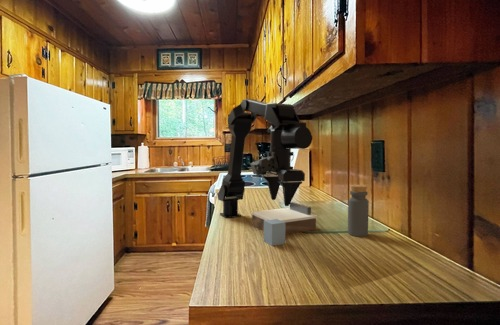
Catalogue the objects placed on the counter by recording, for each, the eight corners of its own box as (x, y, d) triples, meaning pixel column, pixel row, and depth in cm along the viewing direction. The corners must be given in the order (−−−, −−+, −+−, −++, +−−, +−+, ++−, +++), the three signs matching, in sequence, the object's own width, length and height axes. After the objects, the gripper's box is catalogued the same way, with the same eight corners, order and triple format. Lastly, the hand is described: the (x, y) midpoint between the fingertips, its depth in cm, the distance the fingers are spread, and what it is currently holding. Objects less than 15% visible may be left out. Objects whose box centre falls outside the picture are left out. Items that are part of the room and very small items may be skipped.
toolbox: (252, 225, 102) (252, 214, 102) (290, 219, 109) (290, 210, 109) (274, 236, 90) (274, 224, 89) (315, 229, 97) (316, 218, 97)
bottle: (364, 231, 94) (365, 184, 94) (370, 237, 89) (371, 187, 88) (345, 231, 95) (346, 184, 94) (350, 236, 89) (351, 186, 88)
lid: (251, 214, 102) (251, 204, 102) (290, 209, 109) (291, 200, 109) (273, 224, 89) (273, 213, 89) (316, 218, 97) (317, 208, 96)
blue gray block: (263, 241, 85) (263, 220, 84) (276, 239, 87) (276, 218, 86) (271, 246, 81) (271, 224, 80) (285, 243, 83) (285, 222, 83)
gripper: (243, 147, 91) (243, 198, 92) (266, 149, 73) (265, 211, 74) (277, 147, 95) (276, 196, 96) (306, 149, 77) (305, 208, 78)
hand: (279, 202), depth 86 cm, fingers open, 9 cm apart
